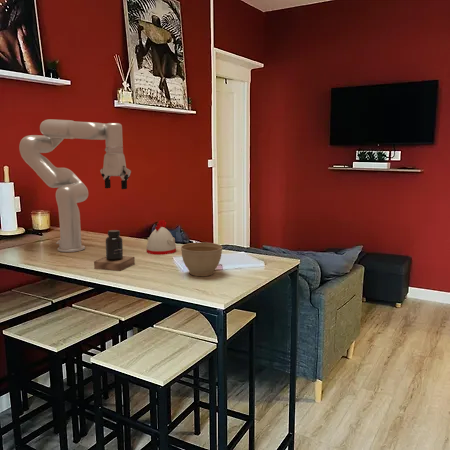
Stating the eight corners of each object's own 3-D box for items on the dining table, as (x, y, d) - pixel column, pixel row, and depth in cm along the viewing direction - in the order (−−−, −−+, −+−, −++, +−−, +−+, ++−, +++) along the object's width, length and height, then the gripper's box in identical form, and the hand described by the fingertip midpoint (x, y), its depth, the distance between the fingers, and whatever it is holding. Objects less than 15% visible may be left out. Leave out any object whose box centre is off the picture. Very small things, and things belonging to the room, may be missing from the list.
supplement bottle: (118, 261, 189) (117, 232, 187) (103, 260, 190) (102, 232, 188) (125, 257, 196) (124, 229, 194) (110, 256, 197) (109, 229, 195)
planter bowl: (189, 281, 172) (188, 252, 170) (176, 270, 186) (175, 244, 184) (228, 276, 178) (228, 248, 176) (213, 266, 193) (213, 241, 191)
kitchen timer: (181, 250, 224) (181, 219, 221) (165, 256, 212) (164, 223, 209) (157, 247, 230) (157, 217, 228) (140, 252, 218) (139, 221, 216)
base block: (94, 268, 189) (94, 261, 189) (110, 261, 201) (109, 255, 200) (120, 270, 186) (120, 263, 185) (134, 263, 197) (134, 256, 197)
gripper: (94, 150, 210) (95, 188, 213) (124, 151, 203) (125, 190, 205) (105, 150, 217) (107, 187, 220) (134, 150, 209) (136, 188, 212)
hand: (116, 188), depth 213 cm, fingers open, 9 cm apart
